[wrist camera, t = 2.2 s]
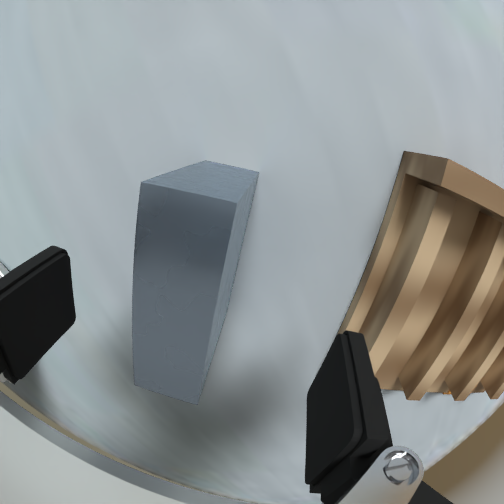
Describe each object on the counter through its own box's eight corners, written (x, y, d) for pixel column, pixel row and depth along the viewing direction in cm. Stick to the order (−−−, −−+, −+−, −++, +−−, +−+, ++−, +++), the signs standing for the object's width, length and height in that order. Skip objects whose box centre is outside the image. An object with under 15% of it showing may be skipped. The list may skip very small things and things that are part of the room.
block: (227, 310, 19) (197, 405, 12) (183, 298, 19) (134, 384, 12) (259, 172, 16) (237, 203, 8) (205, 160, 16) (141, 182, 8)
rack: (478, 387, 20) (496, 422, 16) (317, 374, 20) (322, 427, 16) (558, 237, 14) (594, 259, 10) (404, 150, 14) (448, 158, 10)
